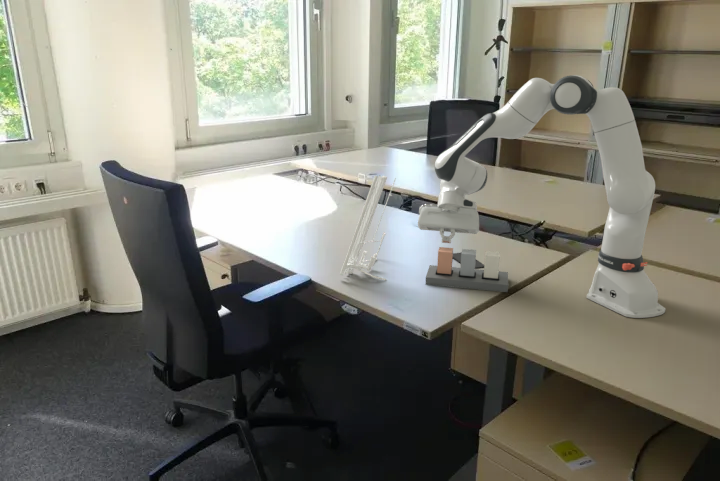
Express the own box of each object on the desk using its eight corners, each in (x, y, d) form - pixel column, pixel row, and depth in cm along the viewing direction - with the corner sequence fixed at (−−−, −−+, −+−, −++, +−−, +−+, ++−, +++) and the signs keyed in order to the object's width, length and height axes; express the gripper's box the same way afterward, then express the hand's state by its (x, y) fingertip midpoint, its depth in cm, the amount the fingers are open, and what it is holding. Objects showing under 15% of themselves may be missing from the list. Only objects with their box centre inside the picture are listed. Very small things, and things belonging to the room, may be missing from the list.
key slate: (474, 271, 176) (476, 250, 174) (474, 276, 172) (475, 254, 170) (460, 270, 177) (462, 248, 175) (459, 275, 173) (461, 253, 171)
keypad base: (507, 279, 178) (507, 272, 177) (507, 292, 168) (508, 285, 167) (429, 271, 184) (429, 265, 183) (425, 284, 174) (425, 277, 173)
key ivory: (497, 273, 175) (499, 251, 172) (497, 278, 171) (499, 256, 168) (483, 272, 176) (485, 250, 173) (483, 277, 172) (485, 255, 169)
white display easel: (371, 268, 197) (404, 179, 190) (402, 284, 190) (437, 193, 183) (336, 272, 177) (372, 173, 169) (370, 291, 170) (408, 188, 163)
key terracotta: (451, 269, 178) (453, 248, 176) (450, 274, 174) (452, 252, 172) (438, 267, 179) (439, 247, 177) (437, 272, 175) (438, 251, 173)
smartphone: (468, 268, 186) (448, 253, 199) (468, 271, 186) (447, 256, 199) (487, 266, 188) (465, 251, 201) (486, 268, 188) (465, 254, 201)
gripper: (419, 199, 180) (414, 235, 174) (481, 203, 175) (477, 240, 169) (420, 208, 185) (415, 243, 180) (480, 212, 181) (477, 249, 175)
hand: (446, 242), depth 174 cm, fingers closed
